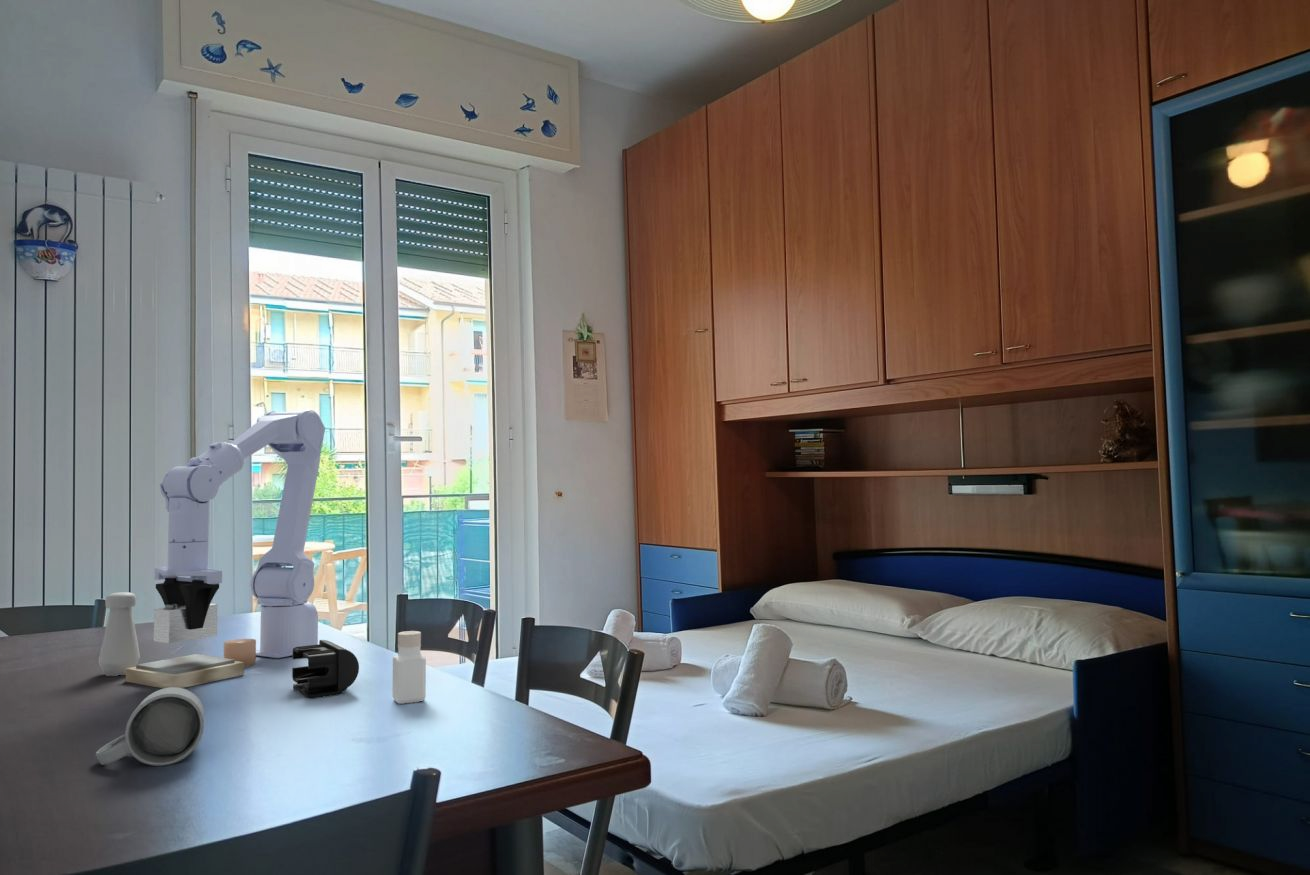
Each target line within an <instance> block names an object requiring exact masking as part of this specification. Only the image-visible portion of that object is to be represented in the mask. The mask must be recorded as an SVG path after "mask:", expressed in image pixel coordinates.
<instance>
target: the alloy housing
mask: <svg viewBox="0 0 1310 875" xmlns="http://www.w3.org/2000/svg"><path fill="white" fill-rule="evenodd" d="M217 636H218V604H217V603H210V606H209V608H208V611H207V615H206V618H205V622H204V625H203V628H198V629H192V630H191V629H188V626H187V617H186V606H185V605H181V606H177V604H167V605H166V607H165V606H164V607H157V608H154V610H153V642H157V643H164V644H171V643H172V644H173V643H180V642H186V641H192V640H196V639H203V638H210V637H217Z"/></svg>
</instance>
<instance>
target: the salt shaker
mask: <svg viewBox="0 0 1310 875" xmlns="http://www.w3.org/2000/svg"><path fill="white" fill-rule="evenodd" d="M136 596H137V595H136V594H135V593H133V592H128V591H124V592H121V591H120V592H113V593H109V594H108V595H107V596H106V597H105V603H104V604H105V605H104V606H105V607H106V609H109V613H108V618H107V623H106V627H105V632H104V635H103V640H102V644H101V648H100V652H99V656H98V661H97V662H98V664H99V667H100V668H101V670H102V671H103V673H104V675H105V677H119V676H118V675H121V676H126V669H127V668H132V667H136V665H138V663H139V661H140V657H141V654H140V650H139V643H138V637H137V631H136V626H135V621H134V619H135V618H134V613H133V607H135V605H136V603H137V597H136Z"/></svg>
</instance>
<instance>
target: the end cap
mask: <svg viewBox="0 0 1310 875" xmlns="http://www.w3.org/2000/svg"><path fill="white" fill-rule="evenodd" d="M301 659H302V660H303V659H307V665H305V666H297V667H292V673H291V674H292V676H291V677H292V681H293V682H294V683H293V684H292V688H293V690H294V691H296V692H297V693H299V694H300V695H302V696H303V697H305V698H306V699H308V700H312V699H319V698H320V699H321V698H328V697H335V696H339V695H341V694H342V693H344V692H345V691H346V690H347V689H348V688H350V687H351V686H352V685H353V684H354V682H355V681H356V680H357V679H358V678H357V677H358V675H359V672H360V663H359V660H358V658H357V656H356V655H355V654H354V652H352V651H350V650H349V649H346V648H345V647H342V646H340V645H338V644H336V643H334V642H332V641H329V640H328V639H327V640H325V639H319V640H318V645H309V646H299V647H295V648H293V655H292V660H301Z"/></svg>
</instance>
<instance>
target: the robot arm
mask: <svg viewBox="0 0 1310 875" xmlns="http://www.w3.org/2000/svg"><path fill="white" fill-rule="evenodd" d="M325 431H326V427H325V425H324V422H323V421H322V419H321V417H320V415H319V414H318V412H316V411H314V410H313V409H306V410H297V411H293V410H292V411H274V410H272V411H271V410H270V411H268V412H266V413H265V414H264V415H261V416H258V417H257V419H256V423H255V424H253V425H252V426H250V427H249V428H248V429H246V431H244V432H243V433H242V434H240V435H239V436H238V437H237V438H235V439H234V440H232V441H231V442H230V443H229V442H225V441H221V442H220V441H219V442H217V441H216V442H212V443H210V444H209V445H208V448H209V449H207V450H205V451H204V452H203V453H201V454H200V455H198V456H194V457H191V458H189V459H188V463H186V464H185V465H184V466H175V467H172V468H170V469H169V470H168V471H167V472H166V474H165V475H164V477H163V479H162V483H160V484H159V490H160V493H161V495H162V497H163V498H164V500H165V509H166V511H167V513H168V528H167V530H168V532H167V538H168V539H167V540H168V541H167V566H160V567H159V566H158V567H154V580H156V581H157V580H158V581H161V580H164V581H163V583H162V582H160V583H155V589H156V590H157V593H158V594H159V596H160V597H161V600H162V602H163V605H164V608H165V607H166V605H167V604H177V606H181V605H185V606H186V617H187V626H188V629H191V630H192V629H198V628H203V625H204V622H205V618H206V615H207V611H208V608H209V606H210V604H212V600H213V598H214V597H215V595H216V593H217V592H218V590H219V589H220V584H222V583H223V570H219V569H214V568H211V567H209V534H210V532H209V528H210V527H209V526H210V525H209V524H210V518H209V517H210V501H211V500H214V499H215V497H216V496H217V494H218V492H219V488H220V486H222V485H223V484H224V482H226V481H228V480H229V479H230V478H232V477H233V476H235V475H236V474H237V473H238V472H240V471H242V470H243V467H244V464H245V460H246V459H247V458H249V457H250V456H252V455H254V454H256V453H257V452H259V451H260V450H262V449H263V448H265V447H266V446H269V448H270V449H272V451H273V452H274V453H275V454H276V455H277V456H278V457H280V459H283V460H284V462H286V464H287V468H286V473H285V479H284V483H283V484H284V485H283V489H282V495H281V499H280V500H281V501H280V505H279V511H278V516H277V521H276V525H275V532H274V537H273V542H272V545H271V546H272V547H271V548H270V549H269V550H268V551H266V553H264V554H263V555H262V556H261V557H259V559H258V564H257V566H256V569H255V571H254V572H253V574H252V576H251V579H250V580H251V581H250V592H251V594H252V596H253V597H254V599H256V600H257V605H260V636H259V637H260V638H259V640H260V641H259V645H260V646H259V649H258V650H257V649H256V656H259V657H267V658H273V659H281V658H286V657H290V656H293V648H295V647H299V646H309V645H318V644H319V640H318V639H319V638H318V636H319V614H318V611H317V608H316V606H315V605H314V604H313V602H311V601H309V599H310V597H311V596H312V593H313V592H314V588H315V577H314V569H315V562H314V561H313V560H312V559H311V558H310V557H309V556H308V555H307V554H306V553H305V552H304V551H305V546H306V540H307V534H308V529H309V528H308V527H309V524H310V517H311V511H312V506H313V502H314V501H313V500H314V495H315V491H316V484H317V480H318V475H319V468H320V461H321V454H322V448H323V442H324V439H325V438H324V437H325Z"/></svg>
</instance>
